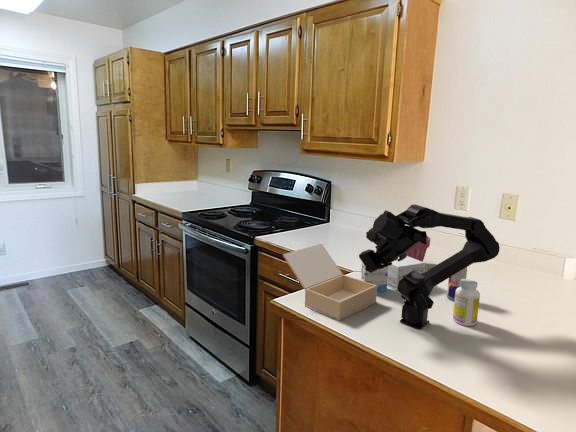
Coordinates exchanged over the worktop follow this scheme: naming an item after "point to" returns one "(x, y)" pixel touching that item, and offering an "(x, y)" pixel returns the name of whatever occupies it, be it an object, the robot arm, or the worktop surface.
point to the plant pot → (419, 250)
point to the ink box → (376, 278)
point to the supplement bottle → (466, 303)
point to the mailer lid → (312, 265)
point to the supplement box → (403, 270)
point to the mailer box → (340, 296)
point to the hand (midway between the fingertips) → (366, 269)
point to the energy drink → (455, 283)
